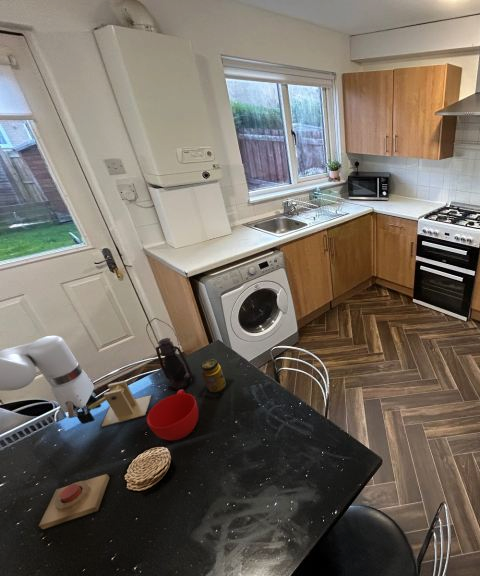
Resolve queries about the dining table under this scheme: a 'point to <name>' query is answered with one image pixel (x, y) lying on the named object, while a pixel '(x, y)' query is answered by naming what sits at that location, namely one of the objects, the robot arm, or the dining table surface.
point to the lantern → (173, 363)
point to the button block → (75, 502)
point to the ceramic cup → (174, 416)
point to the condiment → (213, 375)
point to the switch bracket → (124, 404)
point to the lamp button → (70, 493)
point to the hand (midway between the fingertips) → (91, 414)
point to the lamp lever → (93, 405)
